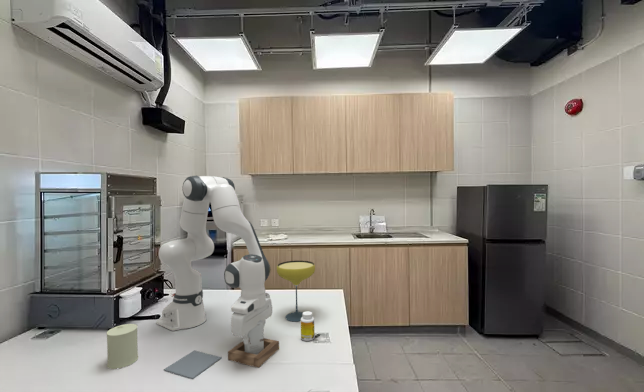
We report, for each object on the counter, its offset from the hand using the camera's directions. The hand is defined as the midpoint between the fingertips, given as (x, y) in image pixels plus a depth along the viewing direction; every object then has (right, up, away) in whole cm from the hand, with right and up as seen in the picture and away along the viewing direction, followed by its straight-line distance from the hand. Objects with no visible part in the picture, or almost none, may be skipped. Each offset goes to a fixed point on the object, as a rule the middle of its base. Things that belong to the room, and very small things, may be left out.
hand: (254, 337), depth 108 cm
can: (-46, -7, -3) cm, 47 cm away
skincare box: (0, -6, 0) cm, 6 cm away
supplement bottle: (+19, -6, +11) cm, 23 cm away
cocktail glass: (+13, -6, +33) cm, 36 cm away
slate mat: (-20, -7, -6) cm, 21 cm away
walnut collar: (0, -6, 0) cm, 6 cm away
